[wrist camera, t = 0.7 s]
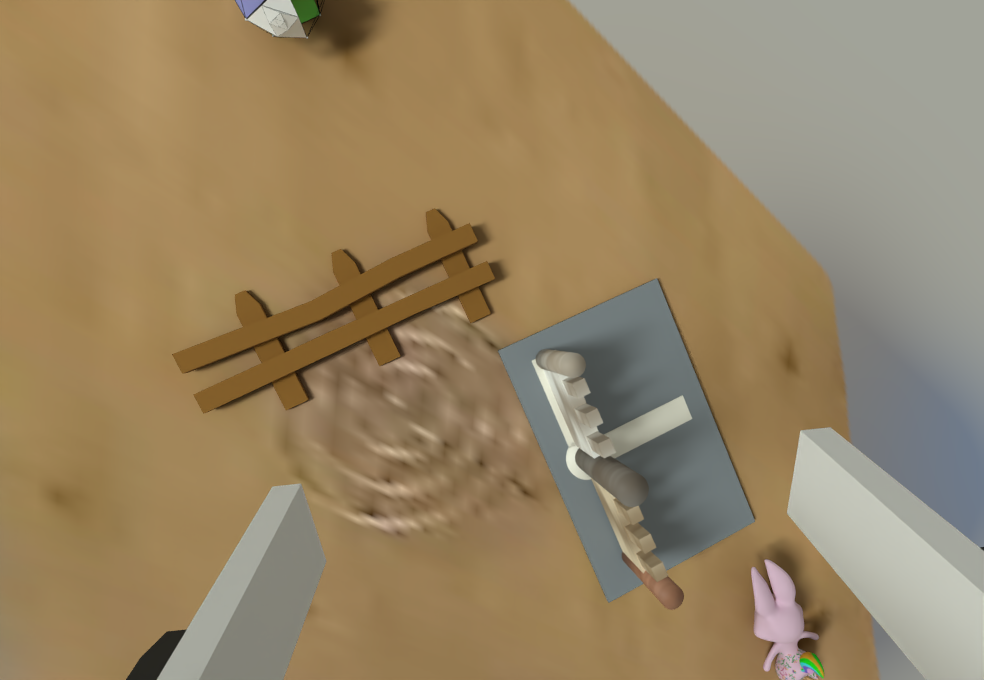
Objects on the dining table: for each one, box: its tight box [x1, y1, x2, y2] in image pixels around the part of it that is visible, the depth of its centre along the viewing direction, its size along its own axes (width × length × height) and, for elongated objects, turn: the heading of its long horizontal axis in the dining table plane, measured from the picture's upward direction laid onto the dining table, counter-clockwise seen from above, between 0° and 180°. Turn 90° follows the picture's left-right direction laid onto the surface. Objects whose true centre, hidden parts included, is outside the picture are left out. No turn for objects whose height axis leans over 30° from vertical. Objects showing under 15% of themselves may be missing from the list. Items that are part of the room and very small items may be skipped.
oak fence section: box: [591, 478, 684, 610], centre depth 39 cm, size 9×2×7 cm, turn 24°
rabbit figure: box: [751, 559, 824, 680], centre depth 43 cm, size 6×6×15 cm
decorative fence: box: [172, 209, 495, 414], centre depth 39 cm, size 25×2×10 cm
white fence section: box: [536, 349, 649, 507], centre depth 38 cm, size 12×2×9 cm, turn 24°
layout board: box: [498, 279, 755, 602], centre depth 43 cm, size 25×16×1 cm, turn 24°
